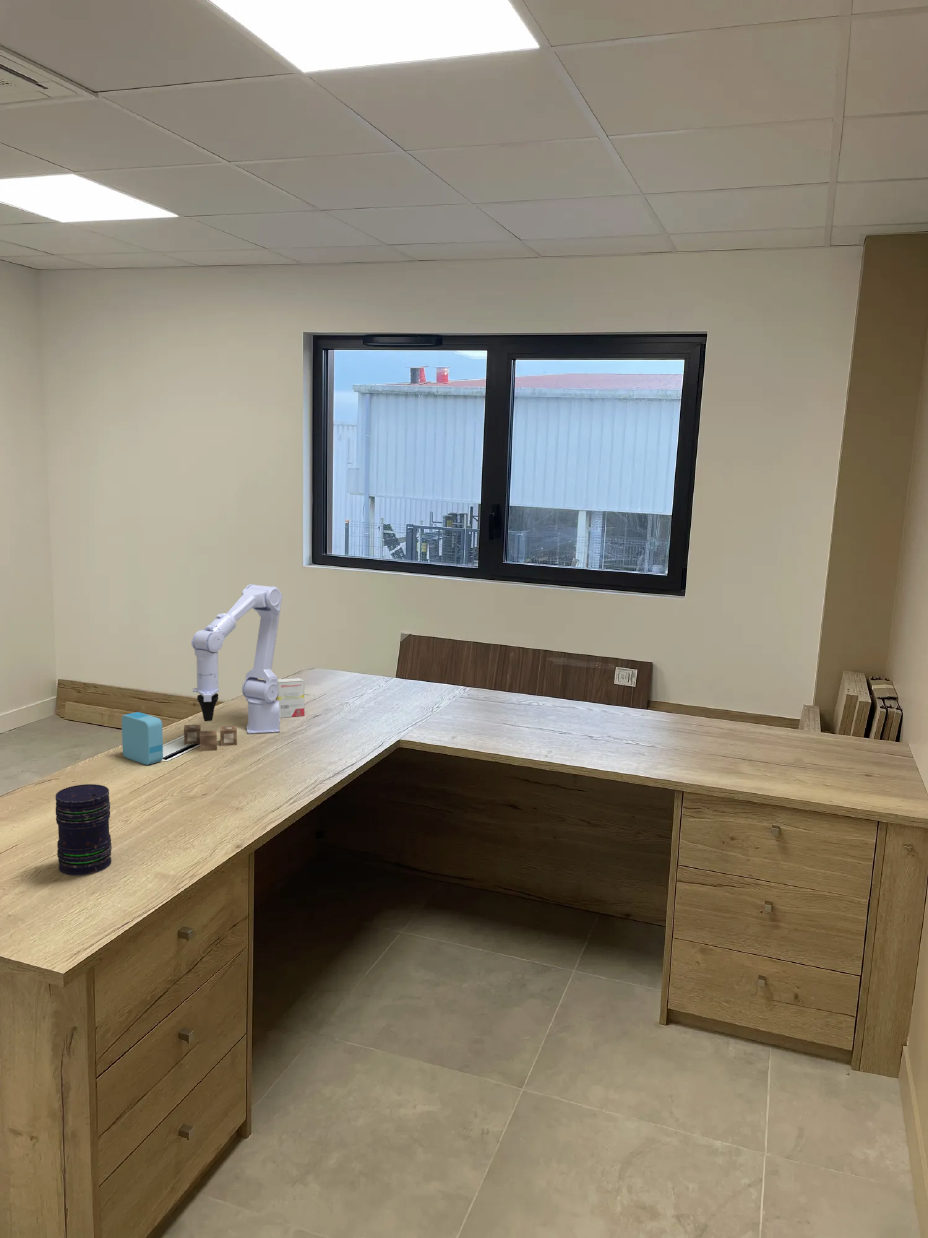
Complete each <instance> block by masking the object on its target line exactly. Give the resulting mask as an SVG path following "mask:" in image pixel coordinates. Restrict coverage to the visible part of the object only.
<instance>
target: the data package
mask: <svg viewBox="0 0 928 1238" xmlns="http://www.w3.org/2000/svg"><path fill="white" fill-rule="evenodd" d="M121 738H122V739H121V743H122V755H123V757H125V758H126V759H129V760H132V761H134V762H137V763H140V764H143V765H145V766H149V765H153V764H155V763H160V762H162V761H163V759H164V746H163V744H164V741H163V740H164V739H163V722H162V720H161V718H159V717H157V716H154V715H149V714H147V713H142V712H140V711H136V712H132V713H126V714H123V715H122V717H121Z"/></svg>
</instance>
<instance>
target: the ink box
mask: <svg viewBox="0 0 928 1238" xmlns="http://www.w3.org/2000/svg"><path fill="white" fill-rule="evenodd" d="M274 701H279V719H283V718H294V717H295V718H296V717H304V716H305V680H304V679H303V678H301V677H297V678H294V677H293V678H278V695H277V697H276V699H275V700H274Z"/></svg>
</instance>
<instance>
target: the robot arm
mask: <svg viewBox="0 0 928 1238" xmlns="http://www.w3.org/2000/svg"><path fill="white" fill-rule="evenodd" d="M282 600H283V594H282V593H281V591H280V590H279V588H278V587H277V586H268V585H261V584H260V585H258V584H253V583H250V584H248V585H247V586H245V588H244V589H243V590H242V591H241V596H240V597H239V599H238V600H237V601H236V602H235V603H234V604H233V605H232V606H231V608H230V609H229V610H228V611H227V612H226V613H223V612H222V613H221V612H220V613H218V614H217V615H216V617H215V618H214V619H213V620H212V621H211V622H210V623H209V624H208V625H206V627H205V628H204V629H200V630H198V631H197V632H195V633H194V634H193V637H192V640H191V646H192V648H193V650H194V655H195V657H196V687H194V688H192V692H193V693H198V695H197V698H196V700H197V702H198V704H199V706H200V709H201V712H202V718H203V721H204V722H212V721H213V719H214V713H215V707H216V704H217V703H218V700H219V692H220V688H219V651H220V650H221V649H222V647H223V644H224V641H225V639H226V638H227V637H228V636H229V634H231V633H232V632H233V631H234V630H235V629H236V626H237V621H239V620H240V619H241V618H242V617H243V616H244V615H245V614H247V613H248V612H250V610H252V609H253V610H254V611H255V612H257V614H258V615H259V617H260V620H259V627H258V635H257V639H256V640H257V641H256V647H255V648H256V649H255V655H254V662H253V668H251V670H249V671H247V672H246V674H245V678H244V681H243V682H242V684H241V685H242V687H241V693H242V695H243V697H244V698H245V700H246V702H247V724H246V726H245V727H246V733H247V734H262V733H279V732H280V725H281V718H279V701H275V699H276V697H277V695H278V679H279V678H278V676H277V675H276V674H275V673H274V671H272V669H273V663H274V656H275V655H274V654H275V648H276V643H277V642H276V641H277V636H278V627H279V620H280V614H281V606H282Z"/></svg>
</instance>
